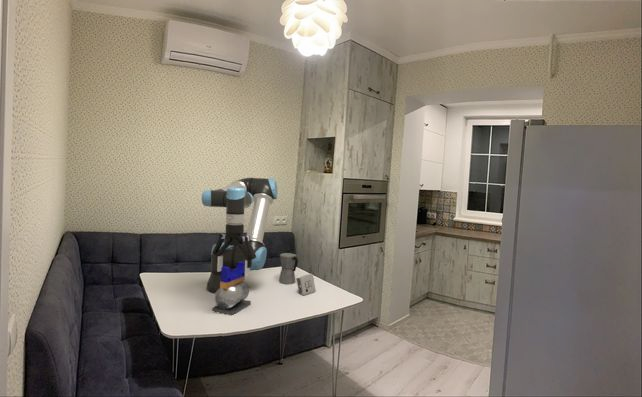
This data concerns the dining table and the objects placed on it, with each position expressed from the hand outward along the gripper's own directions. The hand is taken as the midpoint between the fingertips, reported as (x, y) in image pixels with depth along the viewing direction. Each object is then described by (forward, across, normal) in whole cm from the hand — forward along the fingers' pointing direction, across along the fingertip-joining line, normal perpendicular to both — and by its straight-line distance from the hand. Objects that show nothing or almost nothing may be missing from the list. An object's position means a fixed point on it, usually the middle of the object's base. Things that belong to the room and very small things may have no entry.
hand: (233, 273), depth 144 cm
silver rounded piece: (+15, 0, 0) cm, 15 cm away
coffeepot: (+16, +6, +45) cm, 48 cm away
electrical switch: (+16, +21, +33) cm, 42 cm away
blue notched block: (+2, 0, -1) cm, 2 cm away
